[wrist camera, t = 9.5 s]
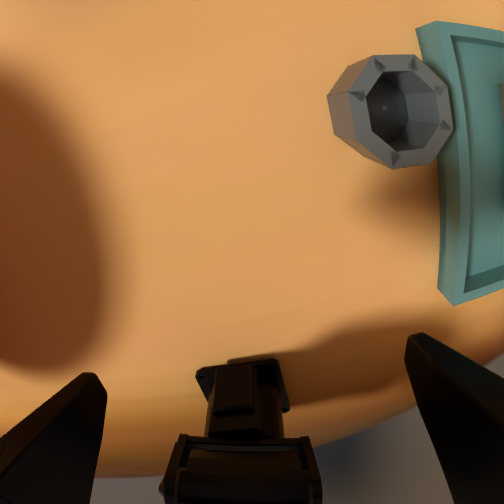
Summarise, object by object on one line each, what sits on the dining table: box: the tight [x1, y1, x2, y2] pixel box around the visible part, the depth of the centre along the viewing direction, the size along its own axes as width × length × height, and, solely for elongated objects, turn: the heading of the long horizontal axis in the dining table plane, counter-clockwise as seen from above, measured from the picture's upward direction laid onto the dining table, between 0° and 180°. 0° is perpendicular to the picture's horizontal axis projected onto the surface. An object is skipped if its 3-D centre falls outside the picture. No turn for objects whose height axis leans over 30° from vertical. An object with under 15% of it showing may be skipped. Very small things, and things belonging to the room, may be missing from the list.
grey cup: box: [327, 55, 453, 169], centre depth 14 cm, size 5×5×4 cm
